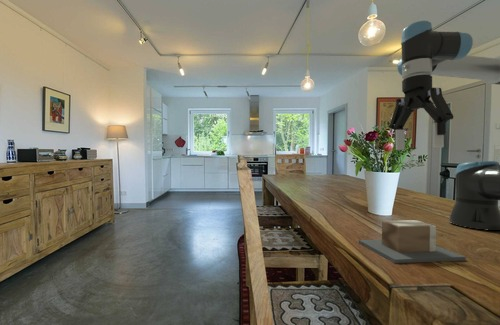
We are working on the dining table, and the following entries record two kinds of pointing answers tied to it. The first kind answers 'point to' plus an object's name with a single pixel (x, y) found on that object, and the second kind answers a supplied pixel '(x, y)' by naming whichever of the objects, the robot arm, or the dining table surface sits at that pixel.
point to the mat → (411, 253)
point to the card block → (409, 236)
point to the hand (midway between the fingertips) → (417, 148)
